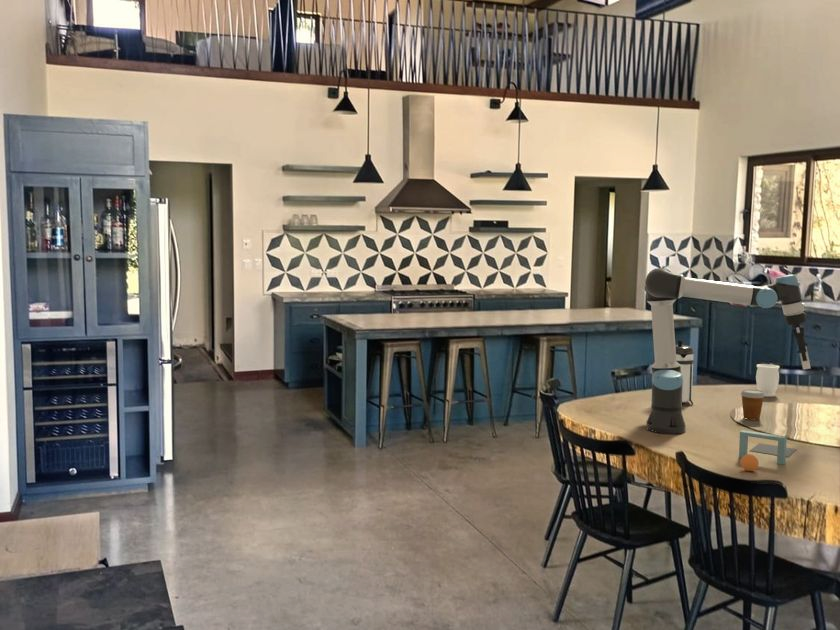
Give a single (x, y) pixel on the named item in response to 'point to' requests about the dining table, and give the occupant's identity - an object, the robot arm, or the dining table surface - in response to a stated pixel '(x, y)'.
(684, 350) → the coffee press
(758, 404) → the disposable coffee cup
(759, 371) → the jar
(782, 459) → the bridge
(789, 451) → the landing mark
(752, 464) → the ball
